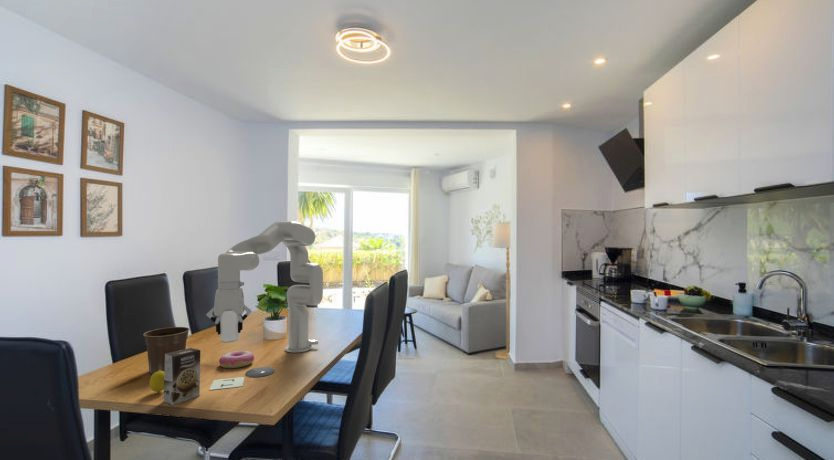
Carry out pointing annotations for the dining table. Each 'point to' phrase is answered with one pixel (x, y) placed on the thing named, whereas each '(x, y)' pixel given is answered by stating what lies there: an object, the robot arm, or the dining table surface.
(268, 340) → the dining table surface
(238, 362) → the donut
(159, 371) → the lemon
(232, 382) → the card
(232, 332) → the can
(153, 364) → the plant pot
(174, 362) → the coffee box
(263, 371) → the coaster
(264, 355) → the dining table surface
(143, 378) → the dining table surface
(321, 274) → the robot arm
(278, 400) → the dining table surface
